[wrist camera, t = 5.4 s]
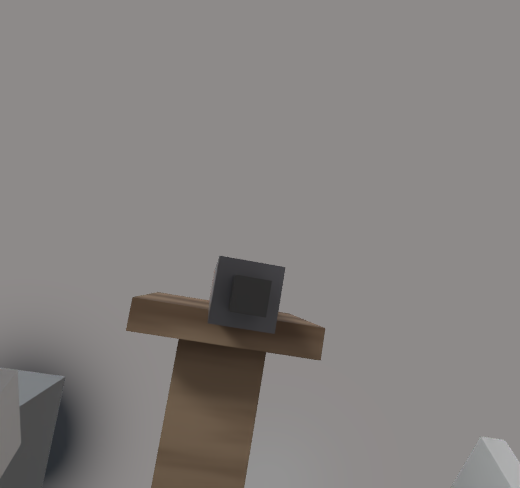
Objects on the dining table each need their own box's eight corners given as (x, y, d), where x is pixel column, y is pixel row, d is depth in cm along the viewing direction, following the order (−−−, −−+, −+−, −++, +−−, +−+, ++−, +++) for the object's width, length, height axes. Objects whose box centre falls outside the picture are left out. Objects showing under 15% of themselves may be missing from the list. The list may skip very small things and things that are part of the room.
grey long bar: (281, 339, 16) (292, 265, 16) (207, 327, 15) (220, 253, 16) (238, 304, 39) (243, 275, 39) (209, 299, 39) (214, 270, 39)
